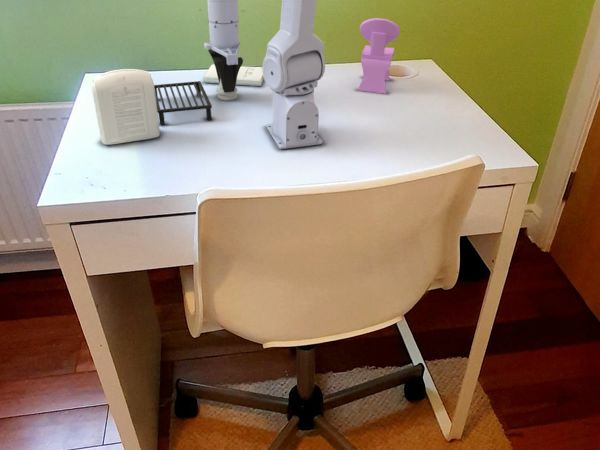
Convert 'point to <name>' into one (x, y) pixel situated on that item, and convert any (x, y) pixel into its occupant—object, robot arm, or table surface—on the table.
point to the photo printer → (125, 106)
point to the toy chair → (377, 53)
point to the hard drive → (238, 76)
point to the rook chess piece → (226, 93)
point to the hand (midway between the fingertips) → (227, 87)
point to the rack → (198, 88)
